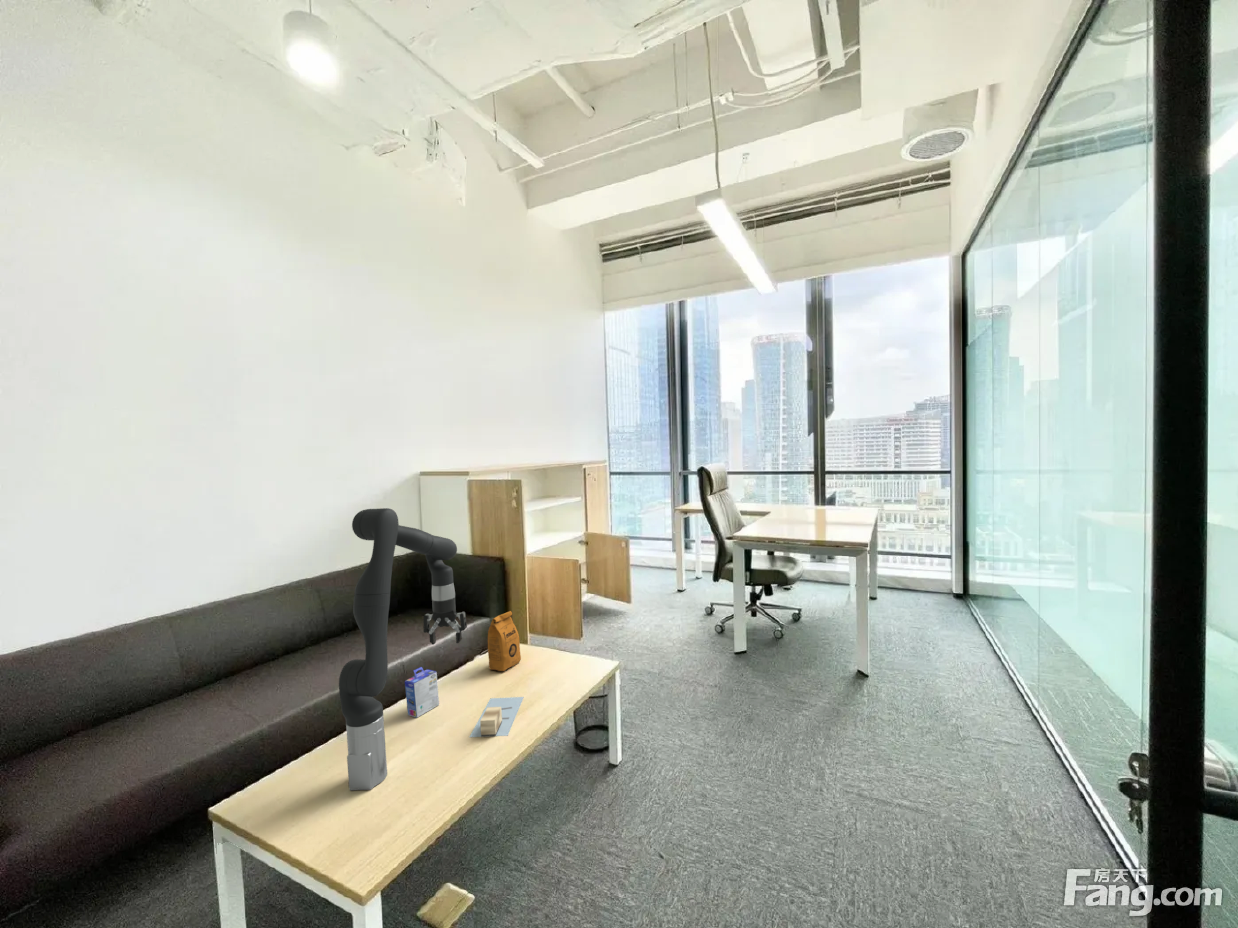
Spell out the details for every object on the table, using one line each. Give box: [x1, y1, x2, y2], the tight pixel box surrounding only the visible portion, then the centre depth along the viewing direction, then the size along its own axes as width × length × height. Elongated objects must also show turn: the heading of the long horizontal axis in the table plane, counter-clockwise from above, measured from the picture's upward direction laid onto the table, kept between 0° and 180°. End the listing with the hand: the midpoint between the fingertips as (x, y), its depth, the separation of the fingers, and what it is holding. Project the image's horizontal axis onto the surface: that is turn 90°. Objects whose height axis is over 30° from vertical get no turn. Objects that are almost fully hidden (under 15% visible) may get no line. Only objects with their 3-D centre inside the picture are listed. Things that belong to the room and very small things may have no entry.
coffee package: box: [487, 610, 522, 672], centre depth 208 cm, size 10×12×22 cm
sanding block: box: [480, 707, 502, 738], centre depth 158 cm, size 8×4×5 cm, turn 179°
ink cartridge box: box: [404, 666, 440, 719], centre depth 175 cm, size 10×6×14 cm, turn 151°
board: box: [469, 696, 524, 738], centre depth 166 cm, size 24×12×2 cm, turn 179°
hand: (446, 643), depth 173 cm, fingers open, 8 cm apart
